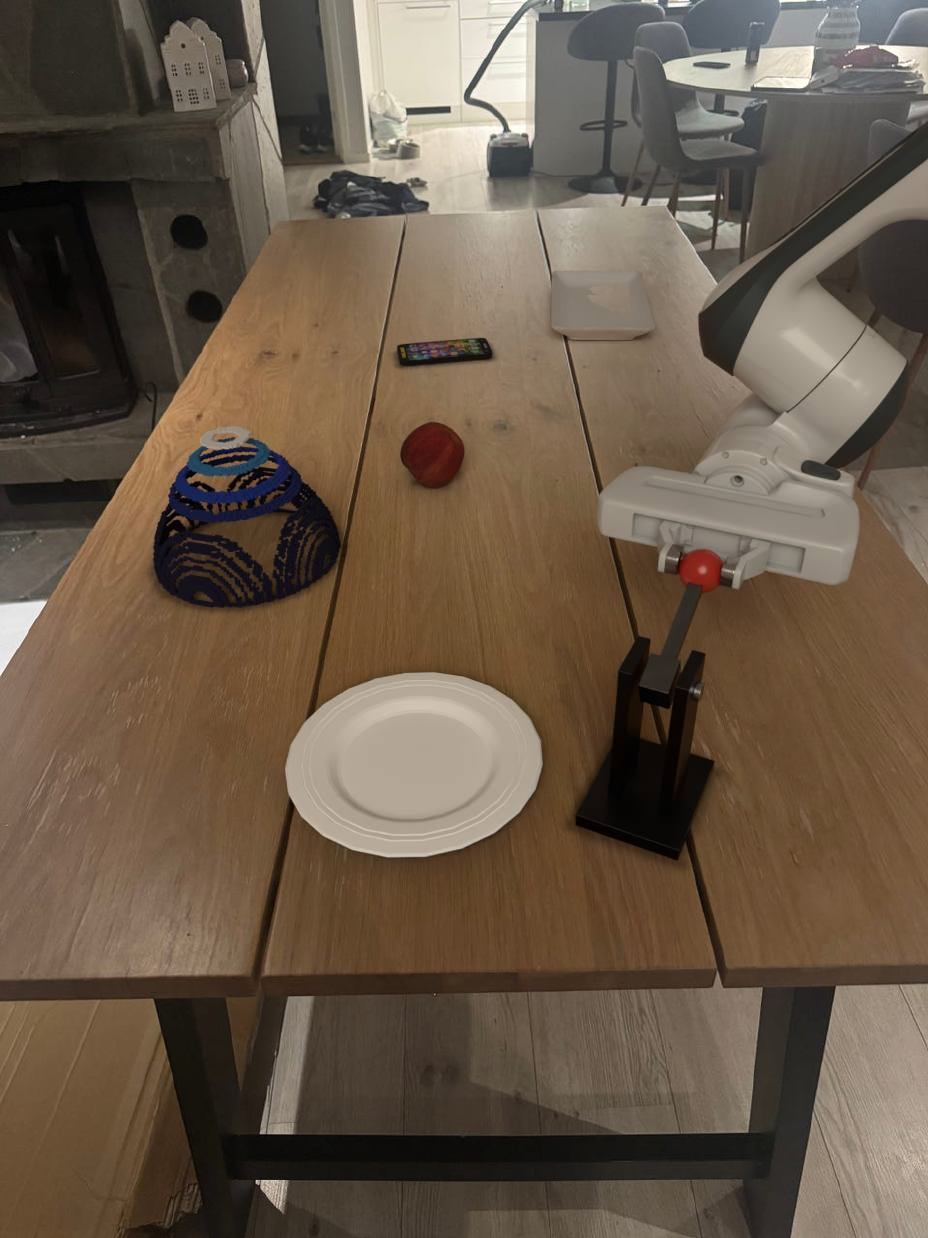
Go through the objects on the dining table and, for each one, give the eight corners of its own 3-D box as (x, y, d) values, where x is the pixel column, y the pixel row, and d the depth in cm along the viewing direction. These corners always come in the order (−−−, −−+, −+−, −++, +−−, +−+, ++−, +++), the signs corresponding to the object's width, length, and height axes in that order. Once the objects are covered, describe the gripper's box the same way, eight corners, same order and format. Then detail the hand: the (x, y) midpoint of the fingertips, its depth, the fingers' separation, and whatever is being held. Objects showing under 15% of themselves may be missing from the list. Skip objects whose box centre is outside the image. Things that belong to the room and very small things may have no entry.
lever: (686, 561, 73) (685, 535, 70) (729, 571, 71) (730, 544, 69) (631, 702, 67) (629, 679, 64) (677, 715, 66) (677, 692, 63)
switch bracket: (618, 741, 78) (630, 609, 70) (713, 771, 75) (737, 635, 67) (575, 825, 71) (582, 688, 63) (677, 861, 68) (699, 722, 60)
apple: (457, 500, 112) (454, 439, 107) (395, 495, 113) (390, 435, 109) (470, 471, 118) (468, 412, 113) (411, 467, 119) (406, 409, 114)
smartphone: (493, 353, 147) (399, 361, 146) (493, 359, 148) (400, 367, 146) (486, 336, 154) (395, 344, 152) (486, 342, 154) (396, 349, 153)
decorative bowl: (288, 621, 93) (265, 495, 85) (120, 590, 99) (82, 469, 90) (367, 523, 108) (354, 407, 100) (217, 501, 114) (193, 389, 105)
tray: (640, 287, 175) (642, 268, 173) (654, 347, 150) (656, 326, 148) (550, 288, 177) (551, 269, 174) (549, 347, 151) (550, 326, 149)
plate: (519, 675, 85) (519, 659, 84) (566, 854, 69) (567, 837, 67) (291, 699, 84) (288, 683, 82) (283, 889, 67) (279, 872, 66)
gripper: (627, 435, 81) (569, 508, 71) (876, 478, 73) (849, 567, 63) (623, 499, 85) (566, 576, 75) (859, 546, 77) (831, 640, 67)
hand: (698, 573), depth 69 cm, fingers closed on lever, 3 cm apart
